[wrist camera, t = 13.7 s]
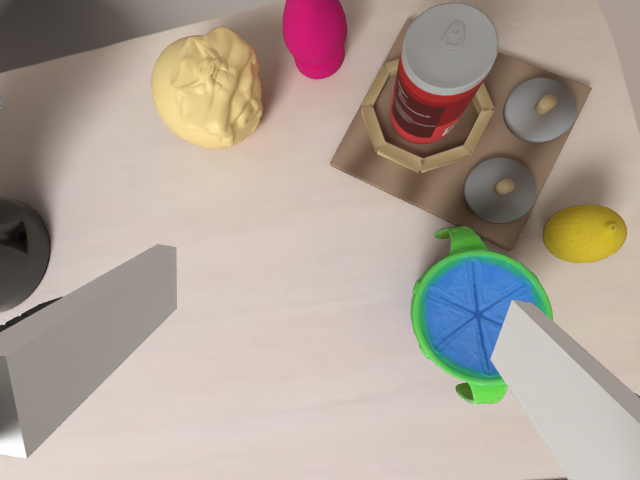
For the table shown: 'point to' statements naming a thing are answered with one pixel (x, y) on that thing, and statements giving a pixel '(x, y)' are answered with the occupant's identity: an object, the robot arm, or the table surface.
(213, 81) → the sculpture
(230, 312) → the table surface
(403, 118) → the canned food
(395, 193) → the board
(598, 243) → the lemon
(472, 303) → the snack cup
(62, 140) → the table surface
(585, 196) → the table surface
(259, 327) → the table surface
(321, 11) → the pepper mill
